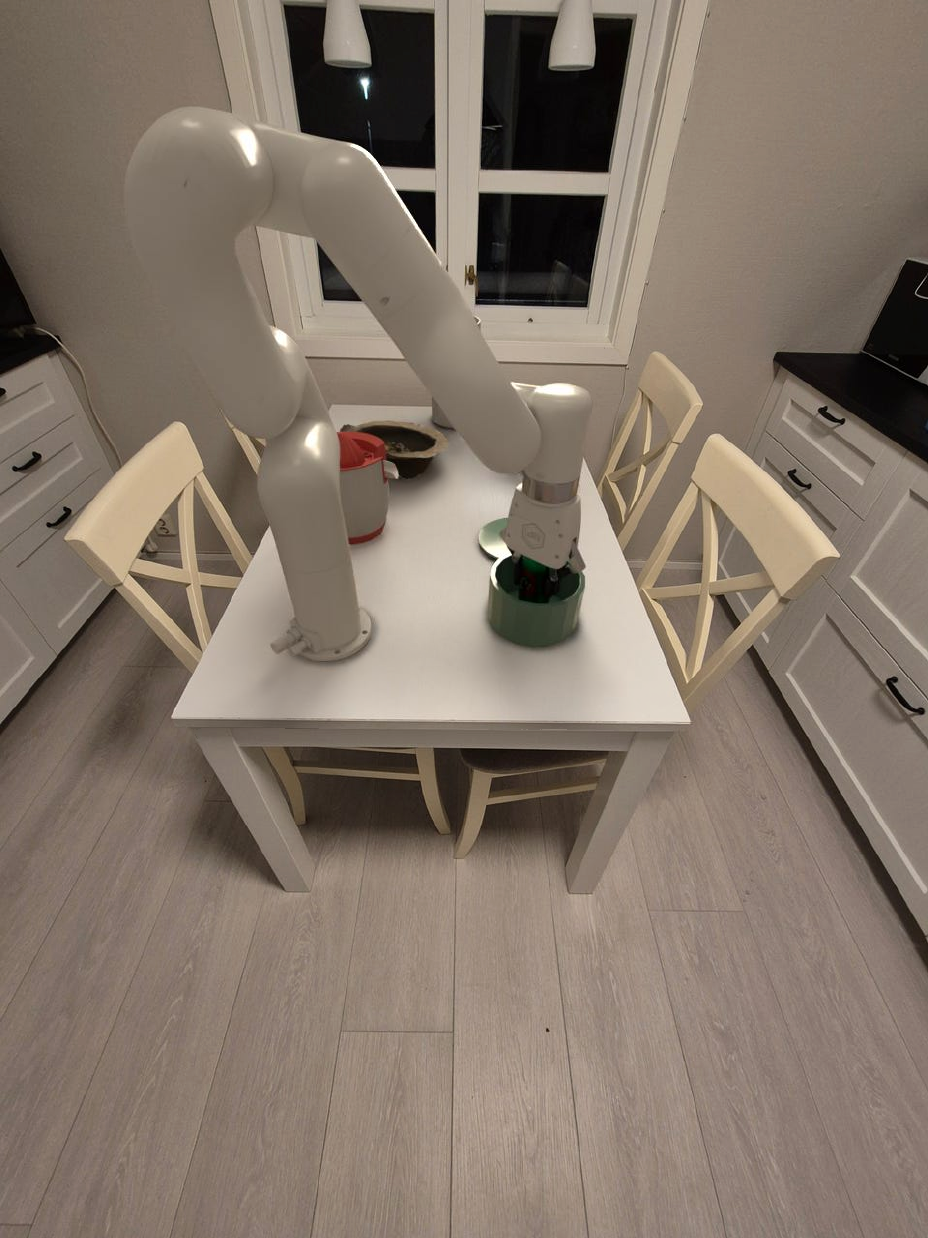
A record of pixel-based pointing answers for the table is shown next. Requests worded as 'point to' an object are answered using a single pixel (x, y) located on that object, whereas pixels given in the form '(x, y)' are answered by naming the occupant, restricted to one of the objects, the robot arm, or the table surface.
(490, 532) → the bowl lid
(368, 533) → the citrus juicer
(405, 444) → the stone bowl
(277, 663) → the table surface
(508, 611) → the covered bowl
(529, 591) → the soda can
